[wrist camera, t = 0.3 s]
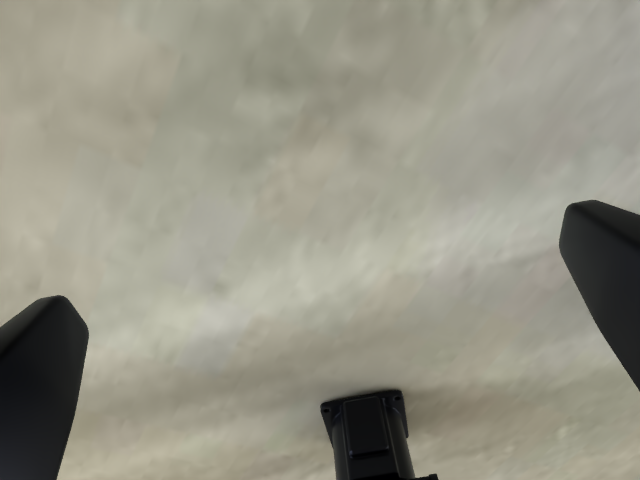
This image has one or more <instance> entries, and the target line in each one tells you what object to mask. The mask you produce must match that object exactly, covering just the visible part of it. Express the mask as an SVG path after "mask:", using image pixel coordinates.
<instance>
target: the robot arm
mask: <svg viewBox="0 0 640 480" xmlns="http://www.w3.org/2000/svg"><path fill="white" fill-rule="evenodd" d="M559 249H560V253H561V255H562V258H563V260H564V262H565V264H566V266H567V268H568V270H569V271H570V273H571V275H572V277H573V279H574V281H575V283H576V285H577V287H578V289H579V291H580V293H581V295H582V297H583V299H584V301H585V303H586V305H587V307H588V309H589V311H590V313H591V315H592V317H593V319H594V321H595V323H596V324H597V326H598V328H599V330H600V331H601V333H602V334H603V336H604V338H605V339H606V341H607V342H608V344H609V345H610V347H611V348H612V350H613V351H614V353H615V354H616V356H617V357H618V359H619V360H620V362H621V364H622V365H623V367H624V368H625V370H626V371H627V373H628V374H629V376H630V377H631V379H632V380H633V382H634V383H635V385H636V386H637V388H638V389H639V391H640V215H638V214H635V213H632V212H629V211H627V210H624V209H621V208H618V207H615V206H612V205H609V204H606V203H603V202H600V201H597V200H588V201H582V202H577V203H572V204H570V205H569V206H568V207H567V208H566V210H565V214H564V219H563V224H562V229H561V234H560V239H559ZM88 339H89V331H88V327H87V325H86V323H85V322H84V320H83V319H82V318H81V316H80V315H79V313H78V312H77V311H76V309H75V308H74V307H73V305H72V304H71V302H70V301H69V300H68V299H67V298H66V297H64V296H61V295H57V296H51V297H46V298H41V299H38V300H36V301H35V302H33V303H32V304H31V305H29V306H28V307H27V308H25V309H24V310H23V311H21V312H20V313H19V314H17V315H16V316H15V317H13V318H12V319H11V320H9V321H8V322H7V323H5V324H4V325H3V326H1V327H0V480H56V479H57V476H58V472H59V469H60V465H61V462H62V458H63V455H64V451H65V448H66V445H67V441H68V438H69V434H70V431H71V427H72V423H73V419H74V416H75V411H76V406H77V402H78V396H79V390H80V385H81V379H82V373H83V368H84V362H85V356H86V351H87V345H88ZM320 408H321V414H322V417H323V420H324V423H325V426H326V429H327V432H328V435H329V438H330V441H331V444H332V447H333V449H334V459H335V470H336V480H438V477H437V474H430V475H429V476H427V477H420V478H415V474H414V470H413V466H412V462H411V457H410V453H409V449H408V445H407V441H406V438H408V436H409V435H408V428H407V420H406V413H405V406H404V398H403V394H402V391H400V390H394V391H388V392H382V393H376V394H371V395H365V396H359V397H353V398H348V399H342V400H336V401H330V402H325V403H323V404H321V406H320Z"/></svg>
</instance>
